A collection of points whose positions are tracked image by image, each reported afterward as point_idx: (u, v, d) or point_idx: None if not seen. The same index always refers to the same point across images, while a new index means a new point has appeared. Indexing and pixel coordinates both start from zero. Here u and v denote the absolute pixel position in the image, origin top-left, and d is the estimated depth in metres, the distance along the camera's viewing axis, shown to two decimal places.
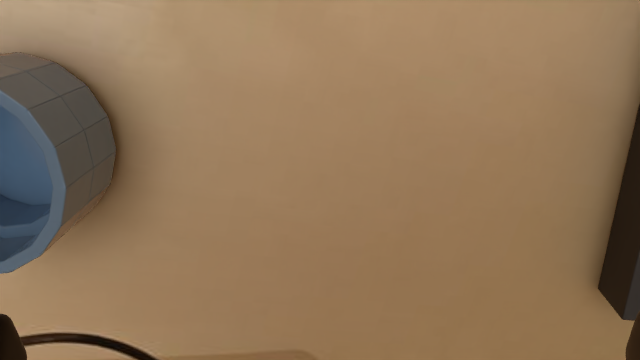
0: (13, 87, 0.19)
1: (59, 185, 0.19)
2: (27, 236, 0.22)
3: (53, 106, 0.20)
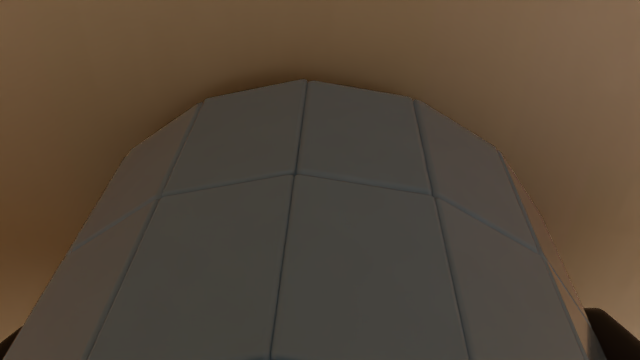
0: None
1: None
2: None
3: None
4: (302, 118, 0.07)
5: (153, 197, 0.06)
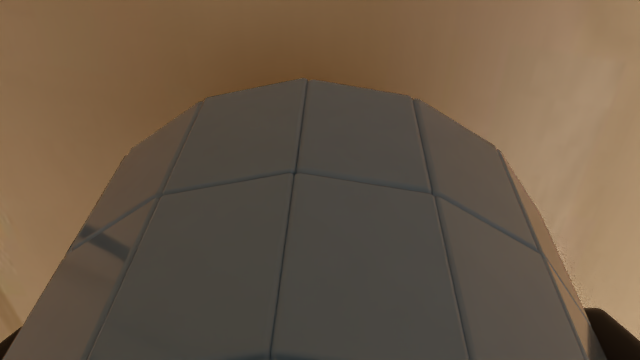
0: None
1: None
2: None
3: None
4: (302, 116, 0.07)
5: (154, 196, 0.06)
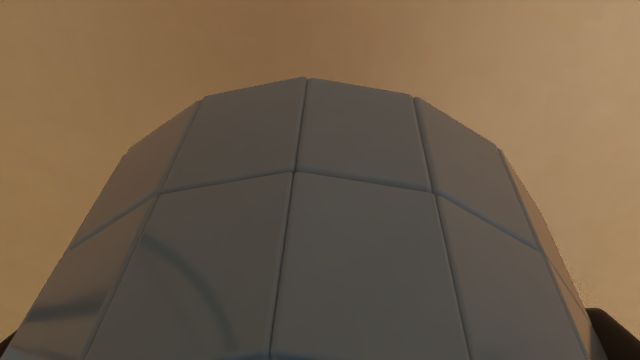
0: None
1: None
2: None
3: None
4: (302, 114, 0.07)
5: (153, 194, 0.06)
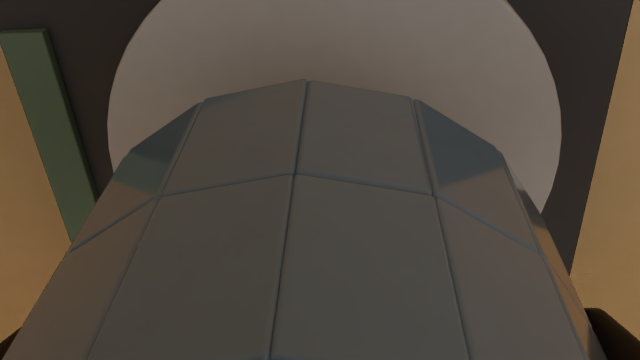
0: None
1: None
2: None
3: None
4: (302, 117, 0.07)
5: (153, 197, 0.06)
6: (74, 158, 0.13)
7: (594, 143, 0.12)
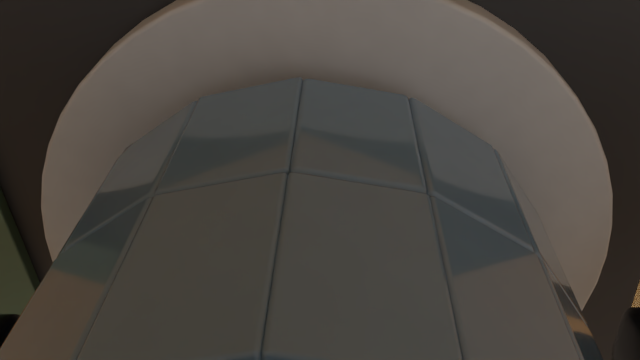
0: None
1: None
2: None
3: None
4: (296, 115, 0.07)
5: (146, 195, 0.06)
6: (6, 243, 0.10)
7: None
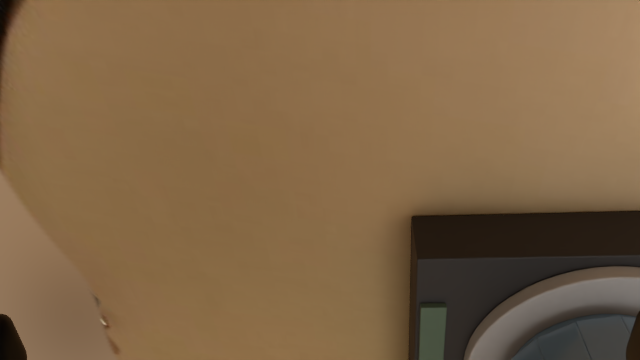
0: None
1: None
2: None
3: None
4: None
5: None
6: None
7: None
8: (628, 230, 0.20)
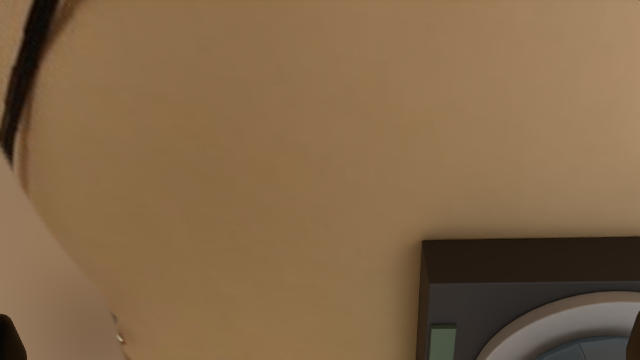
0: None
1: None
2: None
3: None
4: None
5: None
6: None
7: None
8: (627, 256, 0.22)
